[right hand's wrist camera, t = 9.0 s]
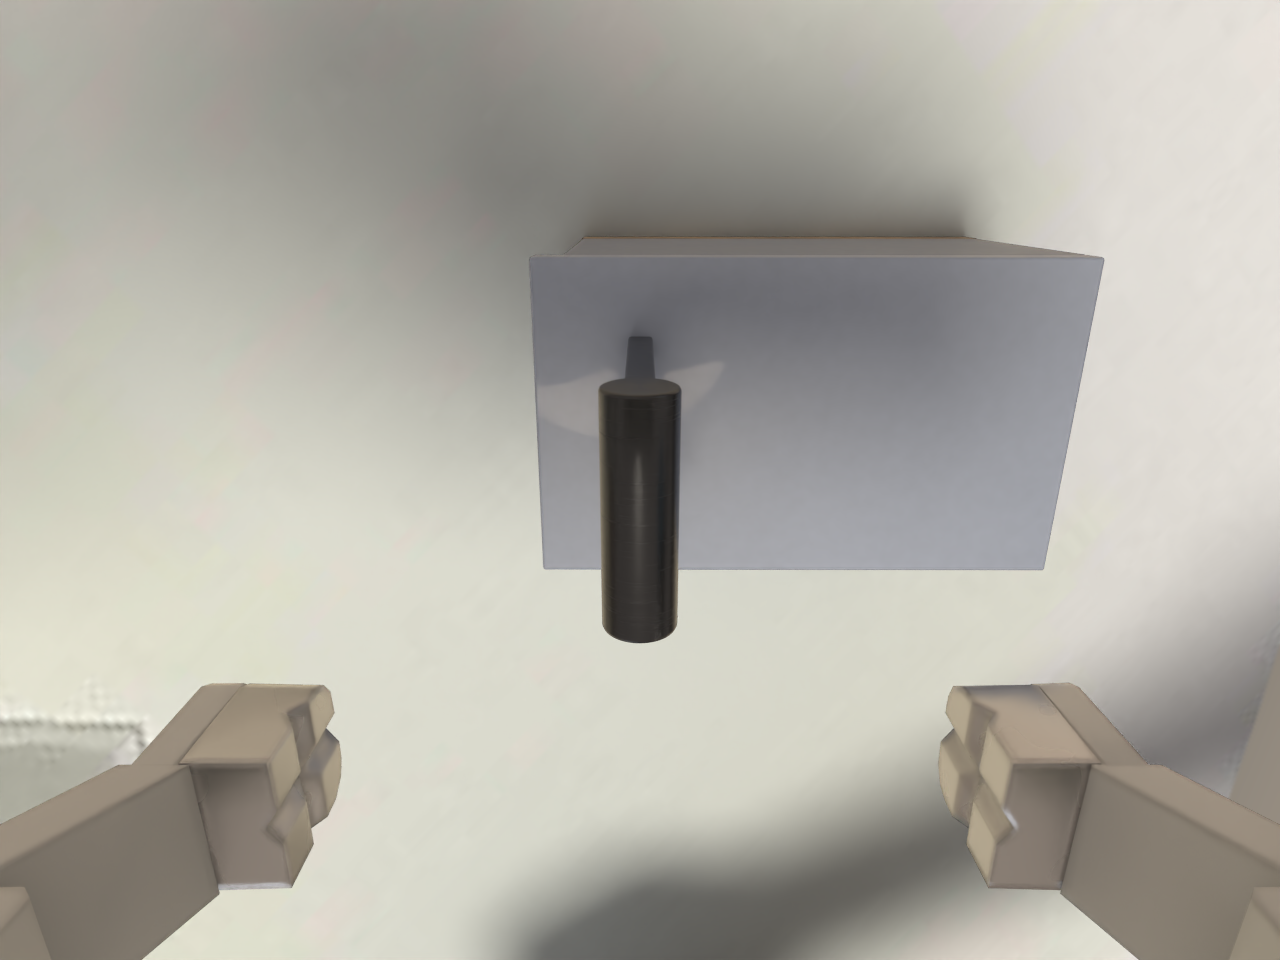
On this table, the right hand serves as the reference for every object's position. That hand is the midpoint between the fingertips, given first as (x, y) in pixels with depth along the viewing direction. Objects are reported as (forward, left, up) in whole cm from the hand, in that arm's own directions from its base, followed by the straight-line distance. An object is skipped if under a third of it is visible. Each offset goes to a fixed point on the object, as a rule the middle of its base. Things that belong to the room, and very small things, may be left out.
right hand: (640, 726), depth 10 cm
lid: (+3, +4, -15) cm, 16 cm away
